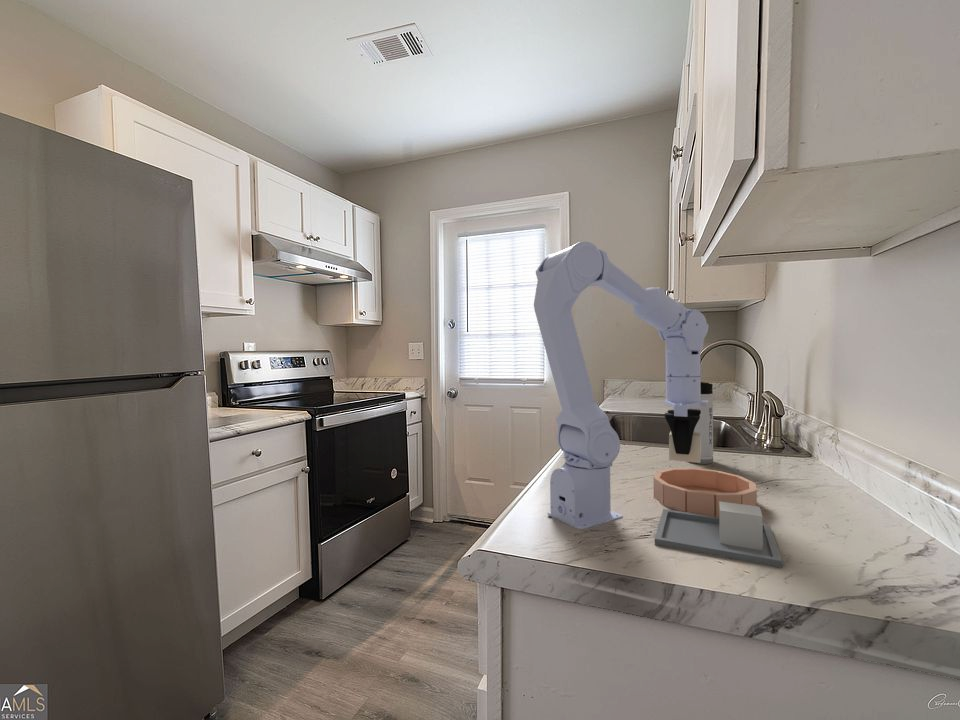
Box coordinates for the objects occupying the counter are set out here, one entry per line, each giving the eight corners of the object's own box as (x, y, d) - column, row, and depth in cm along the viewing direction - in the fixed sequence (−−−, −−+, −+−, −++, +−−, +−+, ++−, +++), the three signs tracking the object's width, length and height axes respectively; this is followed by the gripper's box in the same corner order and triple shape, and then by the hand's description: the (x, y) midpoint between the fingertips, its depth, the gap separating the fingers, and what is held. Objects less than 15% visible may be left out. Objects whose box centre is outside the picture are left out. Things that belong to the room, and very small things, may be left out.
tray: (781, 570, 53) (781, 561, 53) (654, 547, 60) (654, 538, 60) (769, 532, 64) (769, 524, 64) (663, 516, 71) (663, 508, 71)
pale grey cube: (719, 543, 60) (719, 510, 60) (719, 532, 64) (719, 501, 64) (762, 550, 58) (762, 516, 58) (759, 538, 61) (759, 506, 61)
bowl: (720, 527, 67) (720, 501, 66) (636, 497, 80) (635, 476, 80) (775, 507, 75) (775, 484, 74) (689, 483, 88) (689, 464, 88)
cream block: (669, 459, 78) (669, 434, 78) (671, 455, 81) (670, 430, 81) (700, 462, 76) (700, 436, 76) (700, 457, 79) (700, 432, 79)
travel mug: (679, 457, 110) (679, 378, 109) (707, 458, 109) (707, 378, 108) (688, 464, 103) (687, 380, 103) (717, 464, 102) (717, 380, 102)
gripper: (707, 379, 70) (708, 462, 70) (708, 374, 83) (708, 445, 83) (660, 378, 73) (661, 458, 74) (668, 373, 86) (668, 441, 86)
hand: (683, 451), depth 79 cm, fingers closed on cream block, 4 cm apart
